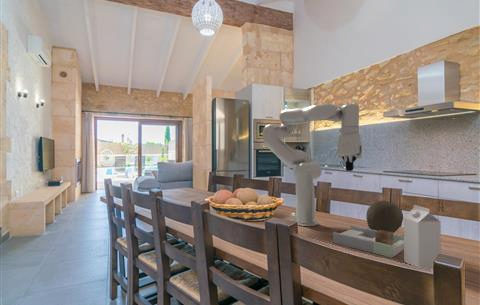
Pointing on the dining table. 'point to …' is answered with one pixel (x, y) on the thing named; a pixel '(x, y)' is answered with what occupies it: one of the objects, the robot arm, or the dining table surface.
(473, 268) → the dining table surface
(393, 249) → the lane box
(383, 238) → the walnut block
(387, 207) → the brown coconut
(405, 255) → the milk carton
